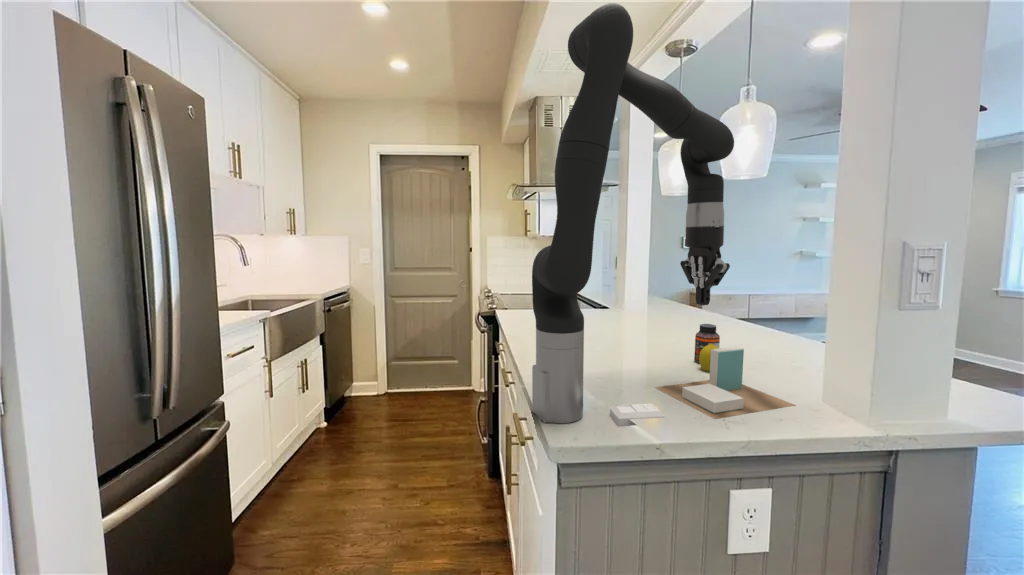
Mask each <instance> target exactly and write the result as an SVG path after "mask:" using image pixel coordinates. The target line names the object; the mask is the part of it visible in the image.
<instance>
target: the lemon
mask: <svg viewBox="0 0 1024 575" xmlns="http://www.w3.org/2000/svg"><path fill="white" fill-rule="evenodd" d="M719 348H720V347H719ZM719 348H718V347H717V346H715V345H714V344H710V345H707V346H705V347H704V348H703V349H702V350H701V352H700V356H699V363H700V364H699V365H700V368H701V369H702V370H703V371H704V372H707V373H710V358H711V349H719Z"/></svg>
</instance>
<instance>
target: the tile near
mask: <svg viewBox="0 0 1024 575" xmlns="http://www.w3.org/2000/svg"><path fill="white" fill-rule="evenodd" d="M682 397H683V398H684V399H686V400H688V401H690V402H692V403H694V404H696V405H698V406H700V407H702V408H704V409H706V410H708V411H710V412H712V413H714V414H715V413H721V412H727V411H733V410H740V409H742V408H743V404H744V398H742V397H740V396H737V395H735V394H733V393H730V392H728V391H726V390H723V389H721V388H719V387H716V386H714V385H712V384H703V385H696V386H689V387H682Z"/></svg>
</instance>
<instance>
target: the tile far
mask: <svg viewBox="0 0 1024 575" xmlns="http://www.w3.org/2000/svg"><path fill="white" fill-rule="evenodd" d="M744 352H745V350H744V348H742V347H739V346H731V347H721V348H720V347H719V349H711V358H710V372H709V379H708V380H709V384H712V385H714V386H716V387H719V388H721V389H723V390H726V391H729V390H736V389H741V388H742V384H743V373H744V372H743V370H744V356H745V355H744Z"/></svg>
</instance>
